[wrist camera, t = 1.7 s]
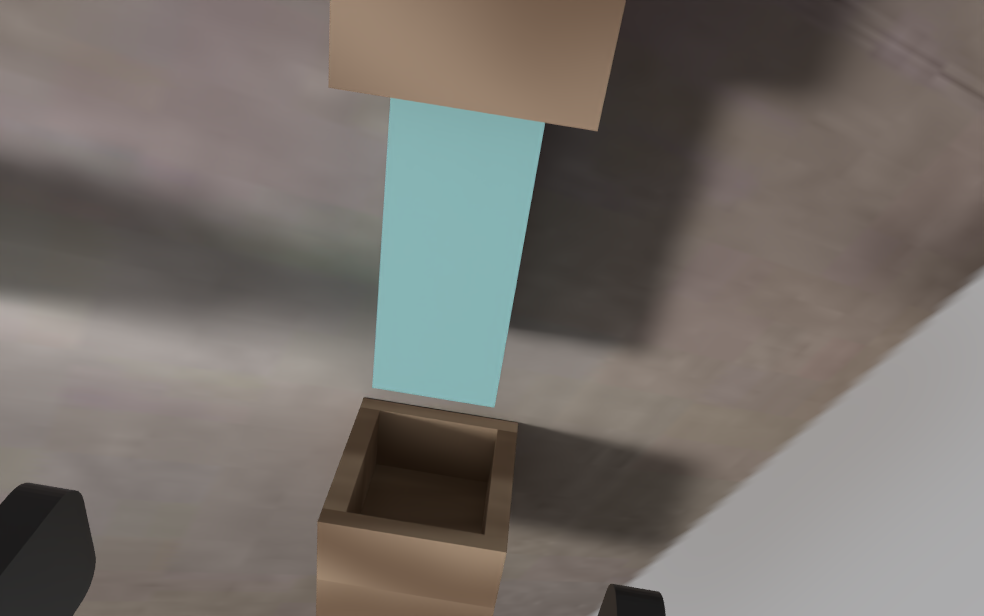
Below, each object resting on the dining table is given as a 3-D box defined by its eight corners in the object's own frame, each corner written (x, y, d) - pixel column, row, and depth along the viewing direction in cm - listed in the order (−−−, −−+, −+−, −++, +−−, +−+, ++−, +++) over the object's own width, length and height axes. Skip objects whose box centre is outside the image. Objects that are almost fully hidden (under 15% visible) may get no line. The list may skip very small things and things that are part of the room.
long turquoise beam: (446, -299, 18) (417, -332, 14) (610, -273, 18) (620, -300, 14) (396, 321, 27) (372, 387, 24) (503, 338, 27) (494, 407, 24)
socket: (363, 397, 30) (317, 521, 25) (518, 422, 30) (506, 552, 25) (358, 492, 33) (316, 622, 28) (499, 515, 33) (485, 649, 28)
